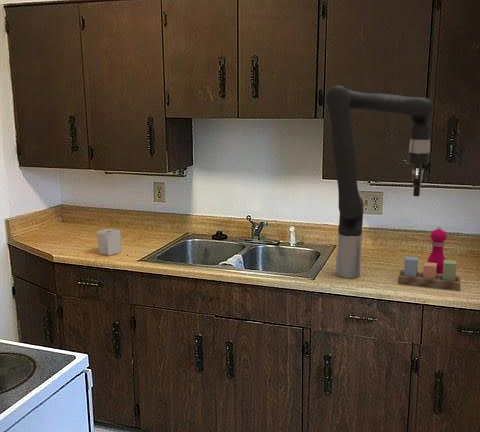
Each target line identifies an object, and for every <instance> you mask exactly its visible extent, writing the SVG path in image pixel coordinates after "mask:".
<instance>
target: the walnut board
mask: <svg viewBox="0 0 480 432" xmlns="http://www.w3.org/2000/svg"><path fill="white" fill-rule="evenodd" d="M442 277H443V274H436V279H429V278H423V271H417V277H410V276H404V269H400V272H399V274H398V281H397V282H398V283H397V284H398V285H402V286H403V285H404V286H411V287H412V286H413V287H421V288H431V289H436V290H437V289H438V290H445V291H446V290H447V291H454V292H455V291H456V292H457V291H458V292H460V290H461V276H460V275H456V279H455V281H448V280H442Z"/></svg>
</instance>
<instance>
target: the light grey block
mask: <svg viewBox="0 0 480 432" xmlns="http://www.w3.org/2000/svg"><path fill="white" fill-rule="evenodd" d="M96 233H97V234H96V235H97V244H98V245H97V246H98V247H97V249H98V251H97V252H98V254H100V255H104V256H109V257H110V256H112V255H116V254H119V253H122V235H121V234H122V233H121V230H120V229H118V228H104V229H100V230H97V232H96Z"/></svg>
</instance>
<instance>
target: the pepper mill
mask: <svg viewBox="0 0 480 432" xmlns="http://www.w3.org/2000/svg"><path fill="white" fill-rule="evenodd" d="M430 239H431V245H432V249H431V252H430V255H429V256H428V259H427V261H426V262H429V263H437V269H436V274H443V264H444V260H446V258H445V255H444V247H445V241H446V240H447V233H446V231H444V230H443V229H442V226H441V225H438V226H436V229H433V230H432V231H431V234H430Z"/></svg>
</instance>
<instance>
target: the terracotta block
mask: <svg viewBox="0 0 480 432" xmlns="http://www.w3.org/2000/svg"><path fill="white" fill-rule="evenodd" d="M436 269H437V263H429V262H427V261H424V262H423V269H422V270H423V271H422V272H423V278H429V279H436Z"/></svg>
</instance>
